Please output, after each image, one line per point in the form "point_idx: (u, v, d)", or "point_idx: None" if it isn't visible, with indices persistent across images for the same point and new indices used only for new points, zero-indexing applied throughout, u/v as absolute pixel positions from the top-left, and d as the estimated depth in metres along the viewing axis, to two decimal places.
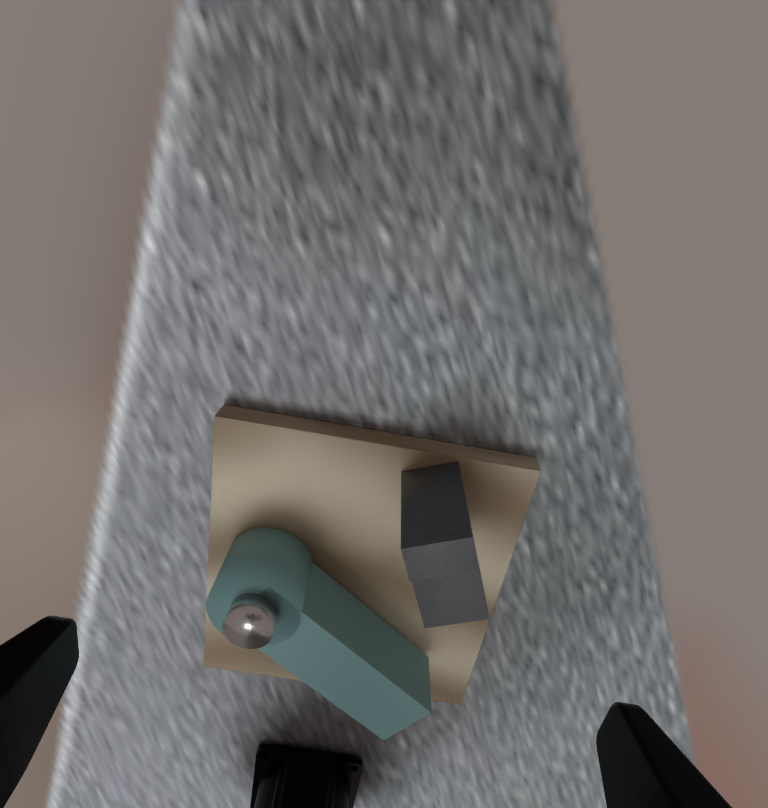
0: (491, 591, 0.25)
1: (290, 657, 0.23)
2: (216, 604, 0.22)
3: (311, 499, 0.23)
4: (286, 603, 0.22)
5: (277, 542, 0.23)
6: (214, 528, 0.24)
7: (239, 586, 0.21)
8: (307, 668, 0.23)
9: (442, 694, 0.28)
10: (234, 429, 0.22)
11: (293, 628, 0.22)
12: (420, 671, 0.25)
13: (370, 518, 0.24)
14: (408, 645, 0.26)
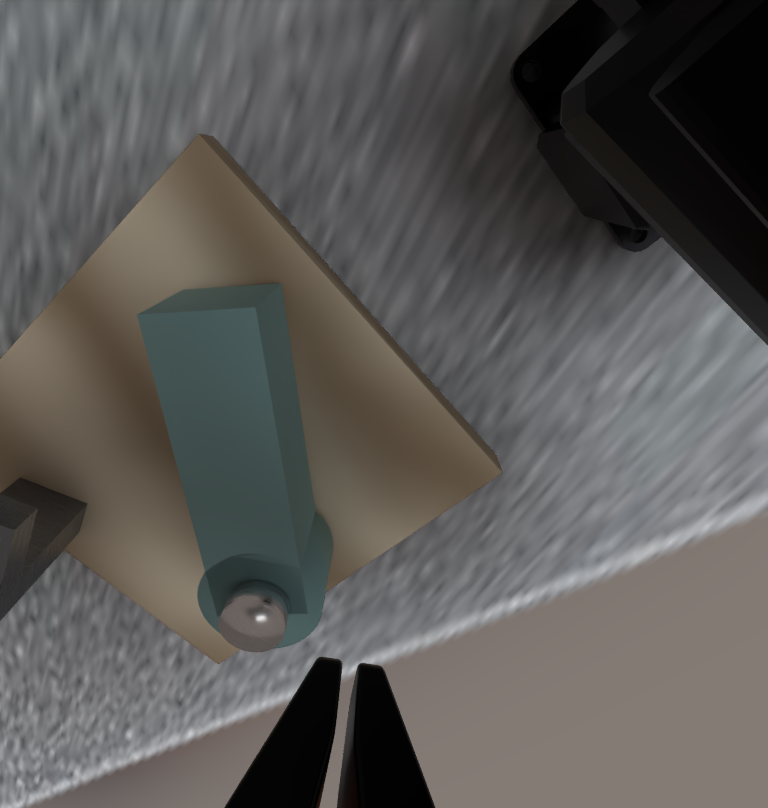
0: (42, 332, 0.17)
1: (271, 530, 0.16)
2: (292, 632, 0.17)
3: (189, 562, 0.20)
4: (214, 590, 0.17)
5: None
6: None
7: None
8: (263, 504, 0.15)
9: (216, 181, 0.15)
10: (210, 648, 0.22)
11: (232, 561, 0.16)
12: None
13: (141, 510, 0.19)
14: None
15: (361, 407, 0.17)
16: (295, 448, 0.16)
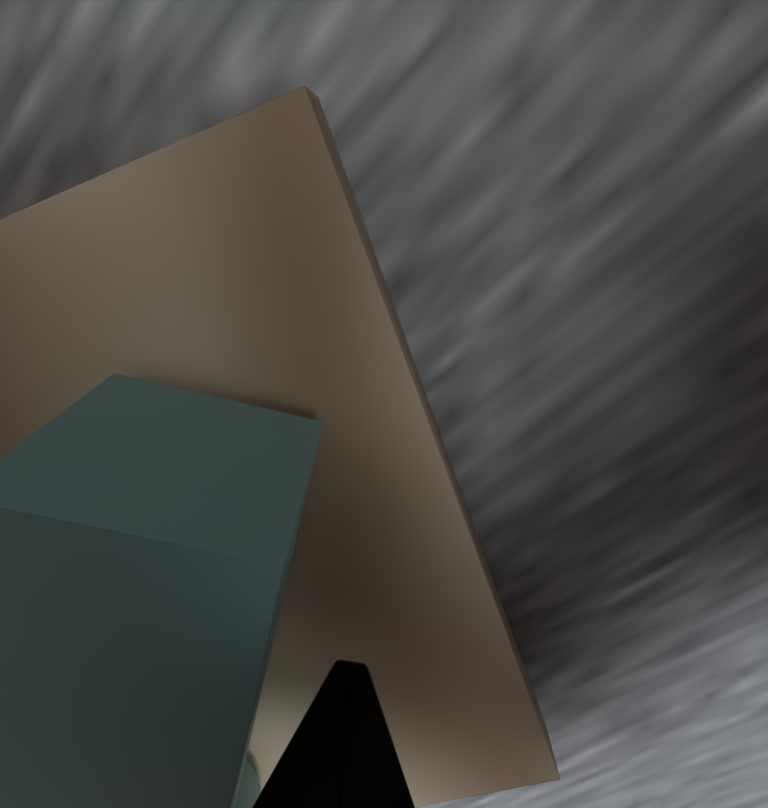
0: None
1: None
2: None
3: None
4: None
5: None
6: None
7: None
8: None
9: (300, 199, 0.07)
10: None
11: None
12: None
13: None
14: None
15: (393, 646, 0.10)
16: (252, 722, 0.08)
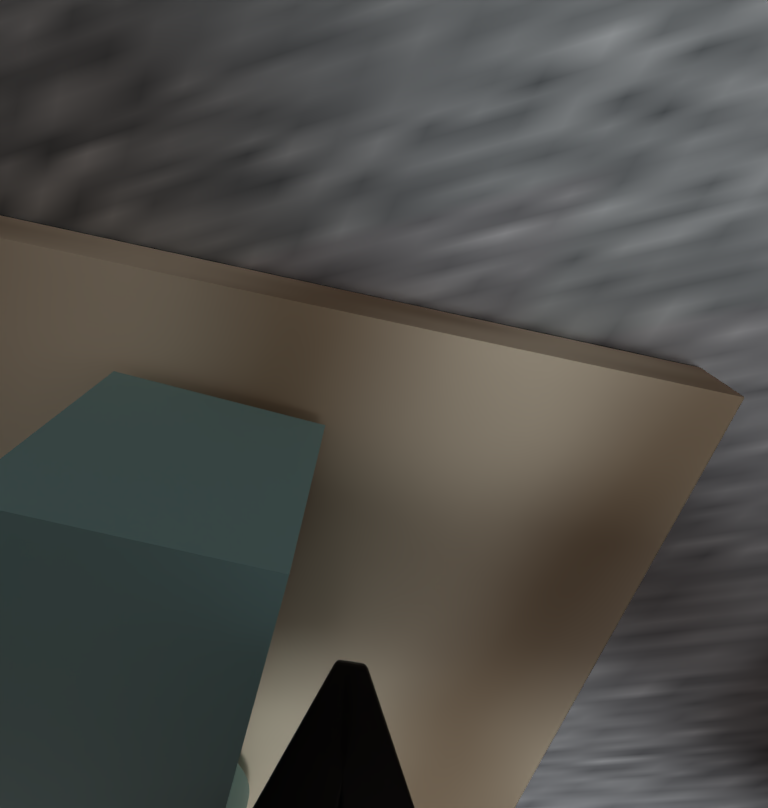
0: (180, 305, 0.07)
1: None
2: None
3: None
4: None
5: None
6: None
7: None
8: None
9: (674, 454, 0.08)
10: None
11: None
12: None
13: None
14: None
15: (445, 751, 0.11)
16: None
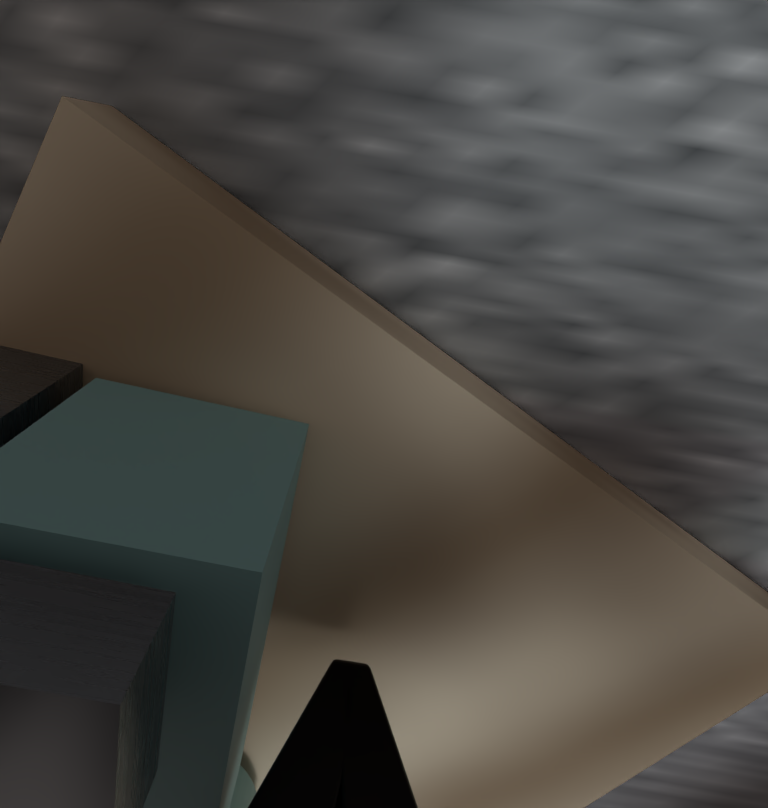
0: (485, 436, 0.08)
1: None
2: None
3: None
4: None
5: None
6: None
7: None
8: None
9: (758, 674, 0.10)
10: None
11: None
12: None
13: None
14: None
15: None
16: (243, 728, 0.08)
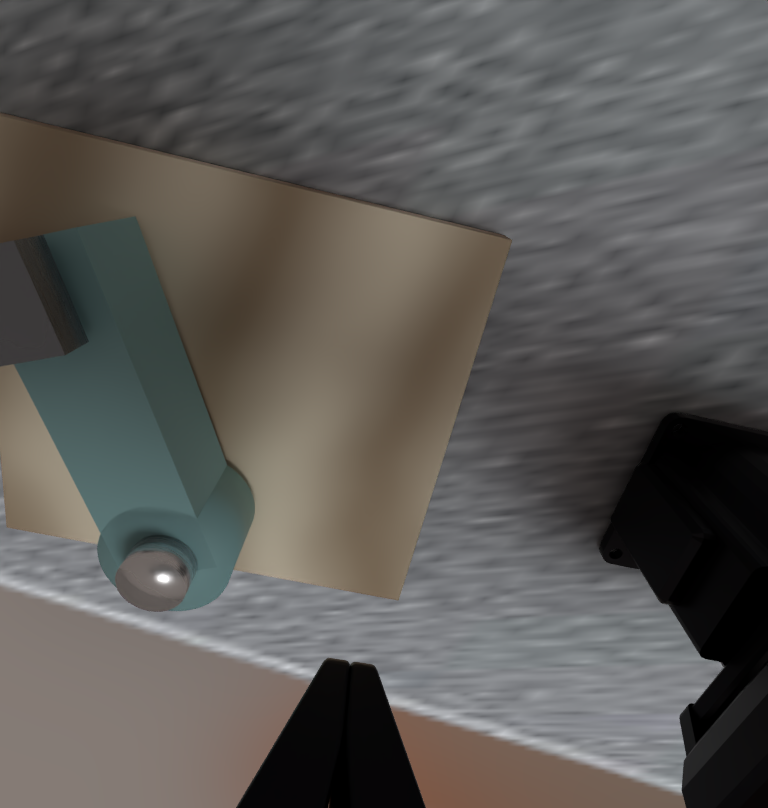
0: (227, 186, 0.15)
1: (156, 478, 0.15)
2: (206, 589, 0.16)
3: None
4: (114, 552, 0.16)
5: None
6: None
7: None
8: (140, 450, 0.14)
9: (482, 274, 0.15)
10: (18, 511, 0.19)
11: (125, 518, 0.15)
12: None
13: None
14: None
15: (374, 484, 0.18)
16: (177, 392, 0.15)
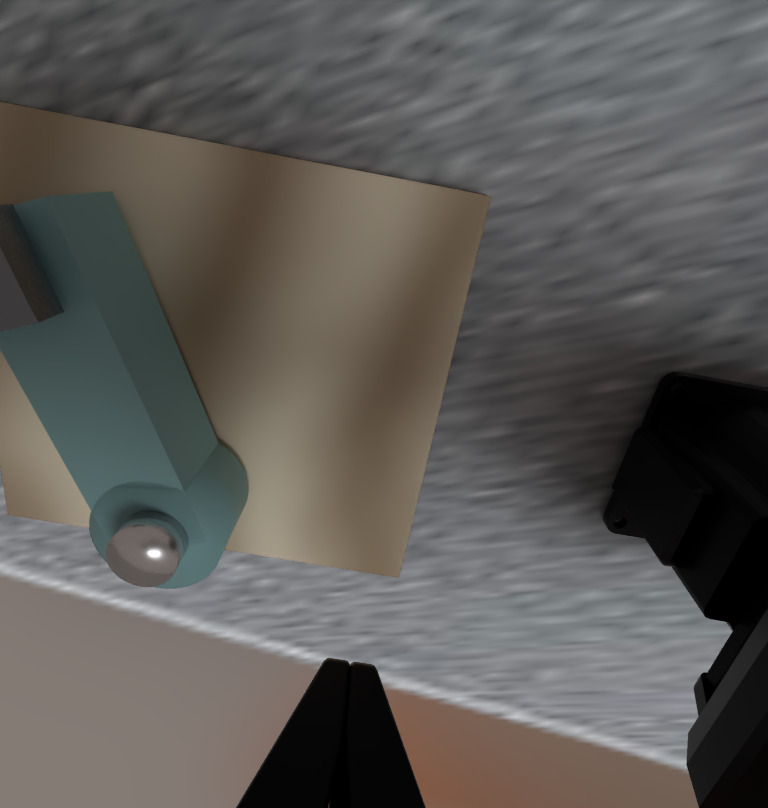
0: (201, 156, 0.15)
1: (141, 451, 0.15)
2: (199, 565, 0.16)
3: None
4: (106, 529, 0.16)
5: None
6: None
7: None
8: (123, 423, 0.14)
9: (462, 233, 0.15)
10: (18, 498, 0.19)
11: (114, 494, 0.15)
12: None
13: None
14: None
15: (366, 457, 0.18)
16: (161, 366, 0.15)
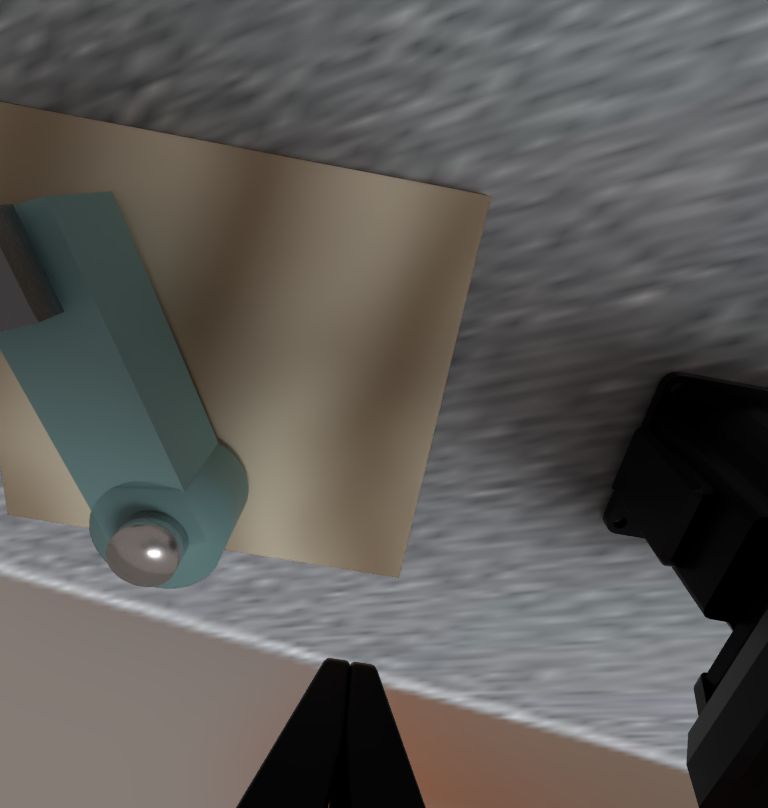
0: (201, 156, 0.15)
1: (141, 451, 0.15)
2: (199, 565, 0.16)
3: None
4: (106, 529, 0.16)
5: None
6: None
7: None
8: (123, 423, 0.14)
9: (462, 233, 0.15)
10: (18, 498, 0.19)
11: (114, 494, 0.15)
12: None
13: None
14: None
15: (366, 457, 0.18)
16: (161, 366, 0.15)
